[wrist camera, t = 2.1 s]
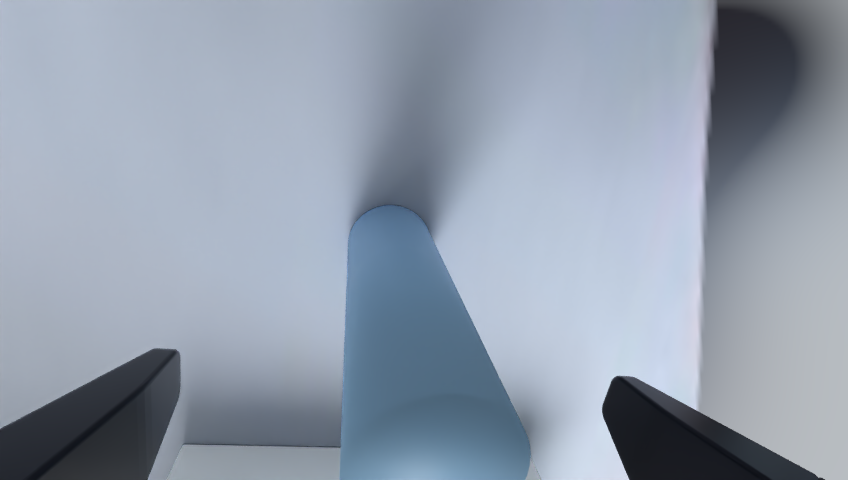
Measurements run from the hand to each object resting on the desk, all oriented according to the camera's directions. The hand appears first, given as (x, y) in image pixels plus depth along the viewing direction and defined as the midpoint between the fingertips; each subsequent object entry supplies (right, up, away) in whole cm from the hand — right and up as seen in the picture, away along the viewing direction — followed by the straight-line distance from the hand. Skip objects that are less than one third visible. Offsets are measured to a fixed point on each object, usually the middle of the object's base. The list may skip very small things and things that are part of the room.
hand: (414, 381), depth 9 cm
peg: (-1, +3, +7) cm, 8 cm away
